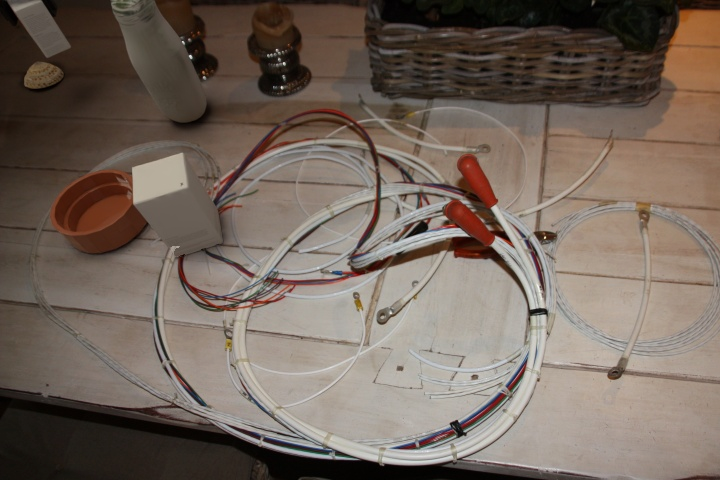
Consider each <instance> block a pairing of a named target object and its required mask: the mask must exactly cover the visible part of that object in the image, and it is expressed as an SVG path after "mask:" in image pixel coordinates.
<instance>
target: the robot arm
mask: <svg viewBox="0 0 720 480" xmlns="http://www.w3.org/2000/svg"><path fill="white" fill-rule="evenodd" d="M41 1H42V2H43V3H44V5H45V7H46V8H47V10H48V11H49V13H50V14H51V16H52V17H53V18H55V17H57V15H58V14H57V13H58V10H59V8H58V5H57V3H56V2H55V0H41ZM0 14H1V15H2V17H3V18H4V19H5V21H6V22H9V23H10V24H11V26H12V27H16V26H17V25H18V22H19V19H18V17H17V16H16V14H15V13H14V12H13V10H12V9H11V7H10V6H9V4H8V3H7V1H6V0H0Z"/></svg>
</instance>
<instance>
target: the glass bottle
mask: <svg viewBox="0 0 720 480" xmlns="http://www.w3.org/2000/svg"><path fill="white" fill-rule="evenodd" d="M110 5H111V10H112V13H113V15H114V18H115V20H116V21H117V23H118V24H119V28H120V30H121V33H122V37H123V39H124V44H125V48H126V51H127V56H128V59H129V61H130V63H131V65H132V67H133V68H134V70H135V72H136V73H137V75H138V77H139V79H140V80H141V83H142V84H143V86H144V87H145V89H146V90H147V92H148V93H149V96H150V97H151V98H152V100H153V102H154V104H155V105H156V107H157V108H158V109H159V111H160V112H161V113H162V114H163V115H164V116H165V117H166V118H168V119H170V120H172V121H174V122H177V123H191V122H193V121H196V120H198V119H199V118H201V117H202V116H203V115H204V114H205V112H206V110H207V104H208V103H207V95H206V92H205V89H204V86H203V84H202V81H201V79H200V77H199V75H198V73H197V71H196V69H195V66H194V64H193V62H192V59H191V57H190V55H189V52H188V50H187V48H186V46H185V44H184V43H183V40H182V39H181V38H180V36H179V35H178V34H177V32H176V31H175V30H174V29H173V27H172V26H171V24H170V23H169V22H168V21H167V20H166V18H165V17H164V15H163V14H162V13H161V11H160V10H159V7H158V6H157V3H156V1H155V0H110Z"/></svg>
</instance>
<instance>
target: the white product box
mask: <svg viewBox="0 0 720 480" xmlns="http://www.w3.org/2000/svg"><path fill="white" fill-rule="evenodd" d="M131 171H132V175H131V176H132V177H133V205H134V206H135V207H136V208H137V209H138V211H139V212H140V213H141V214H142V216H143V217H144V218H145V219H146V221H147V223H148V224H149V226H150V227H151V228H152V229H153V231H154V232H155V233H156V235H157V236H158V237H159V238H160V240H161V241H162V243H164V245H165V246H166V247H167V249H168V250H170V247H172V246H180V247H179V248H176V249H175V251H174V255H173V256H174V257H175V256H179V255H183V254H185V255H184V256H187V255H190V254H193V253H196V252H199V251H202V250H201V249H202V248H206V249H209V248H211V247H215V246H216V245H215V244H219V245H221V244H223V243H224V239H223V231H222V226H221V220H220V214H219V209H218V207H217V205H216V204H215V202H214V201H213V199H212V198H211V197H212V196H210V194H209V192H208V190H207V189H206V188H205V186H204V184H203V182H202V181H201V179H200V178H199V176H198V174H197V172H196V171H195V169H194V168H193V166H192V164H191V163H190V161H189V159H188V158H187V155H186V154H185V152H180V153H177V154H172V155H170V156H166V157H163V158H160V159H155V160H153V161H149V162H146V163H142V164H140V165H136V166H132V167H131ZM217 209H218V210H217Z"/></svg>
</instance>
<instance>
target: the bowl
mask: <svg viewBox="0 0 720 480" xmlns="http://www.w3.org/2000/svg"><path fill="white" fill-rule="evenodd" d="M49 219H50V222H51V225H52V227H53V228H54V229H55V230H56V231H57V232H58V233H59V234H60V235H61V236H62V237H63V238H64V239H65V240H66V241H67V242H68V243H69V244H70V245H71V246H73V247H74V248H75V249H76V250H78V252H79V251H80V252H83V253H87V254H102V253H105V252H110V251H113V250H116V249H119V248H120V247H122V246H124V245H126V244H128V243H130V241H132V240H133V239H134V238H135V237H136V236H137V235H139V234H140V233H141V231H142V230H143V229H144V227H146V225H147V223H148V222H147V221H146V219H145V218H144V217H143V216H142V214H141V213H140V212H139V211H138V209H137V208H136V207H135V206H134V205H133V176H132V175H130V174H129V173H127V172H126V171H123V170H118V169H114V168H113V169H112V168H111V169H100V170H97V171H96V170H95V171H93V172H89V173H86V174H85V175H83V176H81V177H79V178H76V179H75V180H74V181H72V182H71V183H69V184H68V185H67V186H65V187H64V188H63V189H62V190H61V191H60V193H59V194H58V195H57V196H56V198H55V199H54V201H53V203H52V204H51V207H50V214H49Z"/></svg>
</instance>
